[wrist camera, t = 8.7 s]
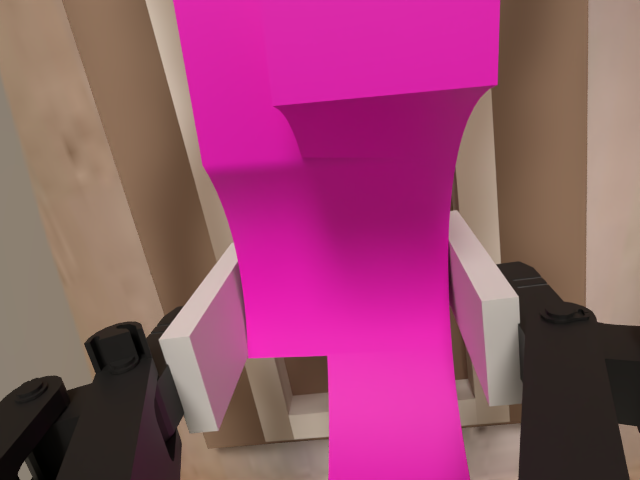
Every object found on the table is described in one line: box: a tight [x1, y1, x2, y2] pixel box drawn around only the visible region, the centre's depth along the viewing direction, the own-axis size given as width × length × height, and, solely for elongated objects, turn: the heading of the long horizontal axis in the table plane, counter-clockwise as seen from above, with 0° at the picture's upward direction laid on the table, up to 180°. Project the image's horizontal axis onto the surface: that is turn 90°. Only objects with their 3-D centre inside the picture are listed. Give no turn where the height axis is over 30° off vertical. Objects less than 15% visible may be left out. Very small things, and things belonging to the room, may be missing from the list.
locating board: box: [62, 0, 588, 449], centre depth 21 cm, size 20×24×3 cm
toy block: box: [173, 0, 500, 480], centre depth 13 cm, size 15×6×8 cm, turn 5°
